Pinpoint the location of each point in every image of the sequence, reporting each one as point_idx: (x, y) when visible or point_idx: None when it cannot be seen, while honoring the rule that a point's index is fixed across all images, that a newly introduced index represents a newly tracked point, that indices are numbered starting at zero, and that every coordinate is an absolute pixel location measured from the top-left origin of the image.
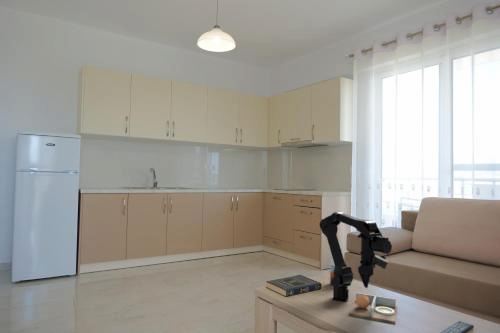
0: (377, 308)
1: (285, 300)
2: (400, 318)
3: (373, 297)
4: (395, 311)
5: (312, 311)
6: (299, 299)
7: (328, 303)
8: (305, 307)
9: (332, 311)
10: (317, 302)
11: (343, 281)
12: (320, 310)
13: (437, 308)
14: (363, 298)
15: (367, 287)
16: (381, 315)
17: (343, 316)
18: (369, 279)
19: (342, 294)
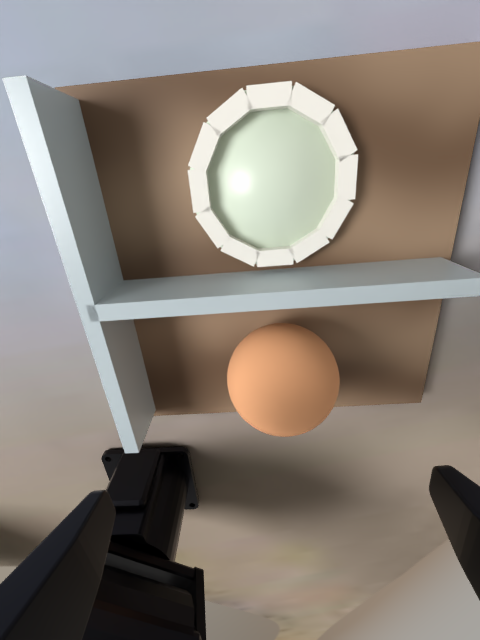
0: (272, 250)
1: (331, 616)
2: (304, 15)
3: (109, 322)
4: (203, 81)
5: (422, 528)
6: (288, 590)
7: (268, 503)
8: (381, 556)
9: (382, 467)
10: (284, 538)
11: (192, 626)
12: (393, 508)
13: None
14: (330, 392)
15: (453, 468)
16: (379, 195)
17: (439, 412)
18: (84, 526)
19: (173, 500)
